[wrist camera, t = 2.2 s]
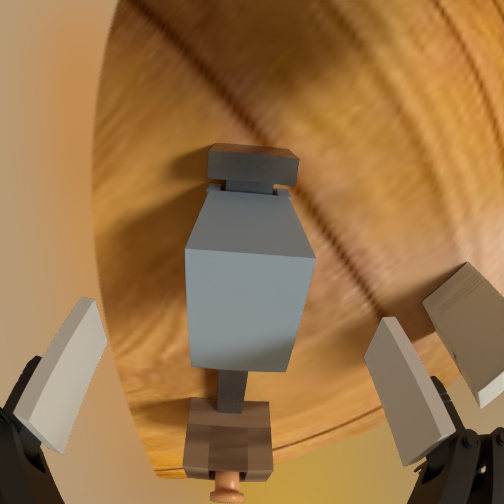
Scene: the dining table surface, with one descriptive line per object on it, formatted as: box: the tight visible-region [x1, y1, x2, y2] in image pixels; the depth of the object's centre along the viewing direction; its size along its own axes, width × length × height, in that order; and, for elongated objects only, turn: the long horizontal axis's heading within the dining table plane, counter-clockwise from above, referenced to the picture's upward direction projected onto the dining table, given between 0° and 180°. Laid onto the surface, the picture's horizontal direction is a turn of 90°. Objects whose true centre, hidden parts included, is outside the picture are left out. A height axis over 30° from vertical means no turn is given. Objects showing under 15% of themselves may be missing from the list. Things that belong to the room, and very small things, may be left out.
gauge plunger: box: [210, 471, 244, 503], centre depth 24 cm, size 4×4×6 cm
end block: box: [182, 397, 273, 482], centre depth 29 cm, size 6×10×10 cm, turn 84°
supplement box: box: [422, 262, 504, 409], centre depth 20 cm, size 7×7×13 cm
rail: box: [207, 143, 299, 414], centre depth 23 cm, size 30×5×4 cm, turn 174°
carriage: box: [185, 183, 316, 372], centre depth 16 cm, size 7×5×10 cm
